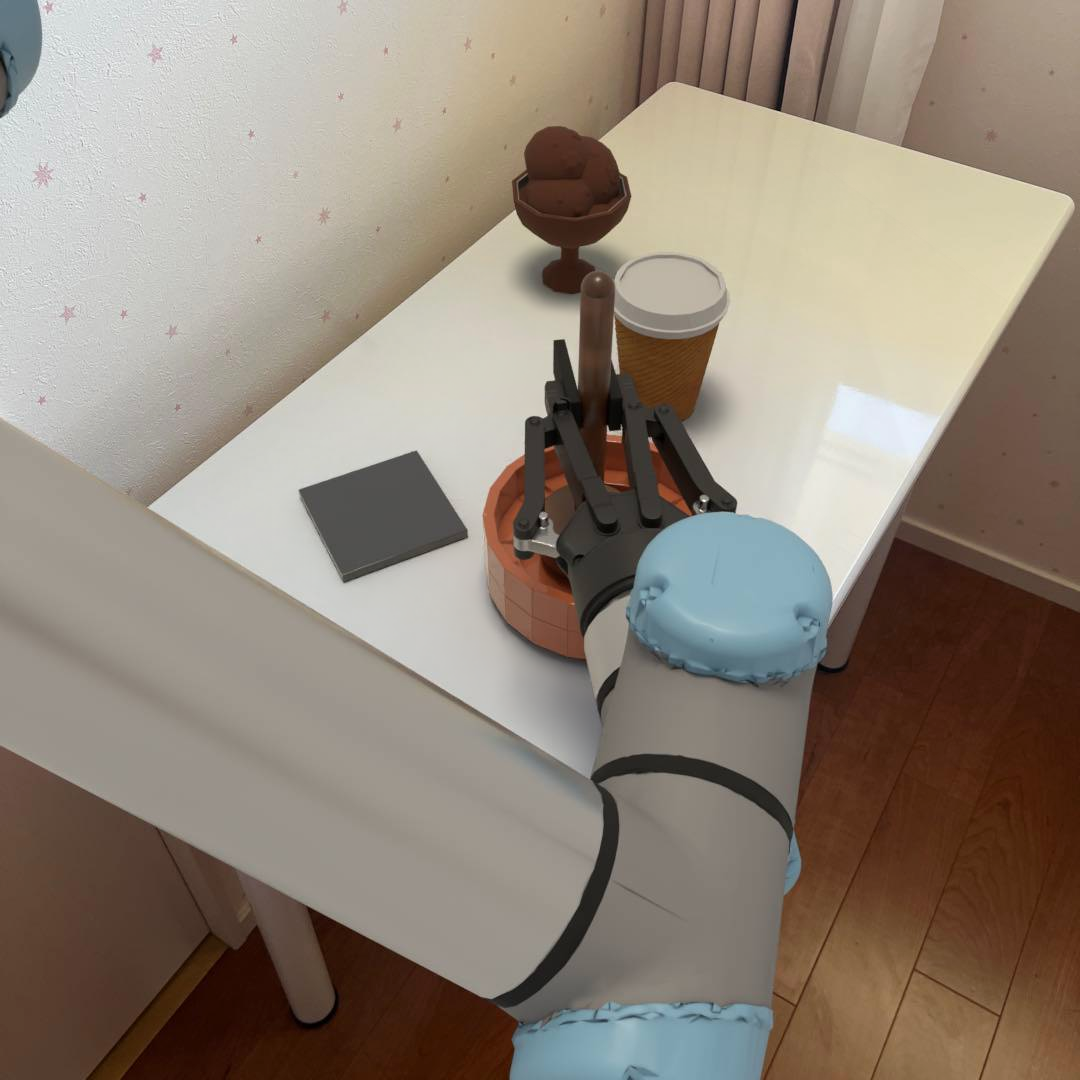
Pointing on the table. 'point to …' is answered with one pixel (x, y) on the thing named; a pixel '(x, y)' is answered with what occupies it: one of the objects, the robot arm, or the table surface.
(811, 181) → the table surface
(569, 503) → the paper towel holder
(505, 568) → the terracotta round bowl
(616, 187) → the ice cream bowl
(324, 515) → the dark grey square tile
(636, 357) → the disposable coffee cup
